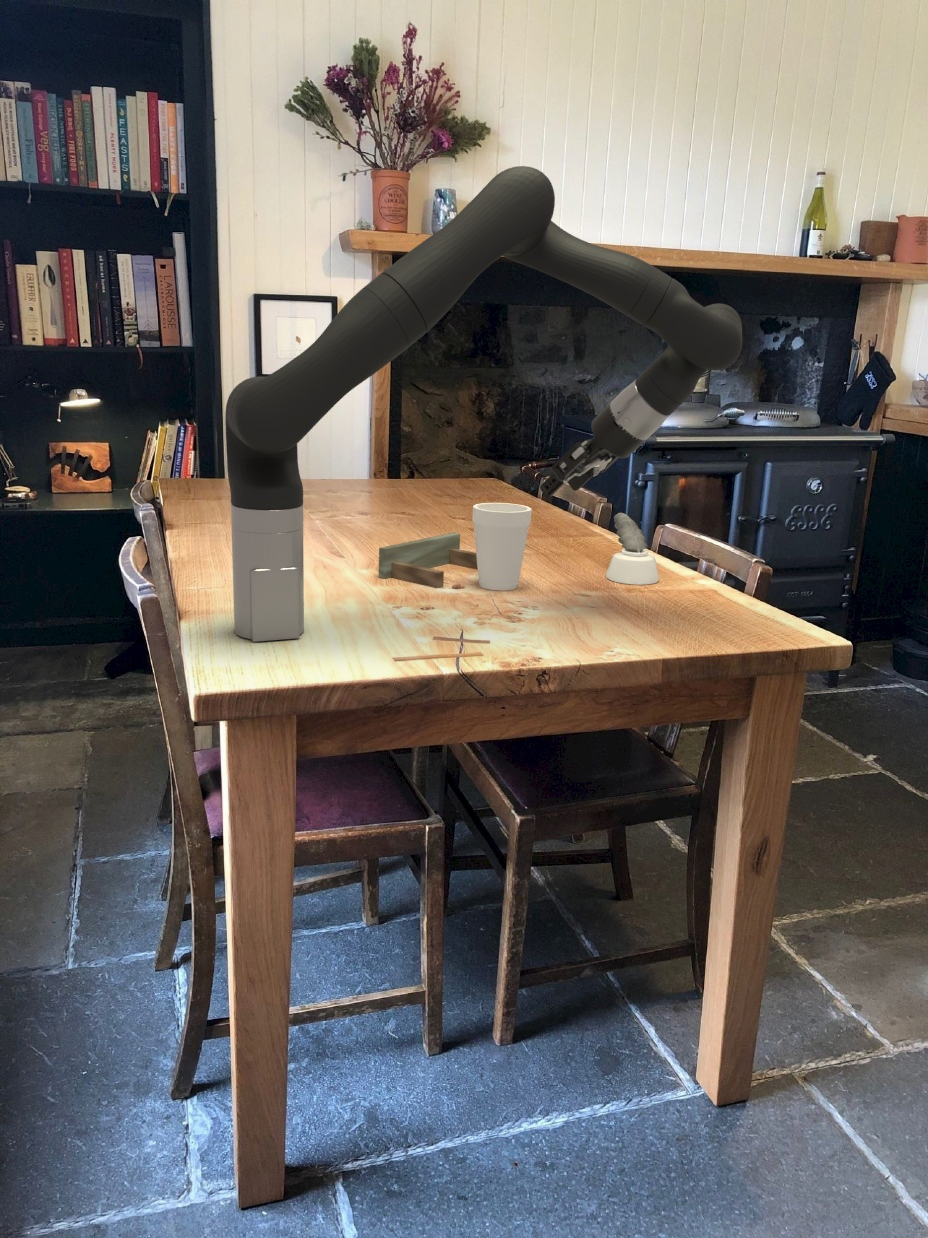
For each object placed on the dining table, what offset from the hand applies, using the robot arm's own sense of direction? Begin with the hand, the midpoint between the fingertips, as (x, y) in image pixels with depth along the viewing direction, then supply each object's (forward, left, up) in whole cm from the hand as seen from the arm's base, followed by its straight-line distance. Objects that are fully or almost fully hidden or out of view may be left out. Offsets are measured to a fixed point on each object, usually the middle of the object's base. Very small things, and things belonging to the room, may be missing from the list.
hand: (558, 489), depth 151 cm
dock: (+18, +11, -17) cm, 28 cm away
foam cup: (+8, +5, -17) cm, 20 cm away
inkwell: (+12, -20, -17) cm, 29 cm away
